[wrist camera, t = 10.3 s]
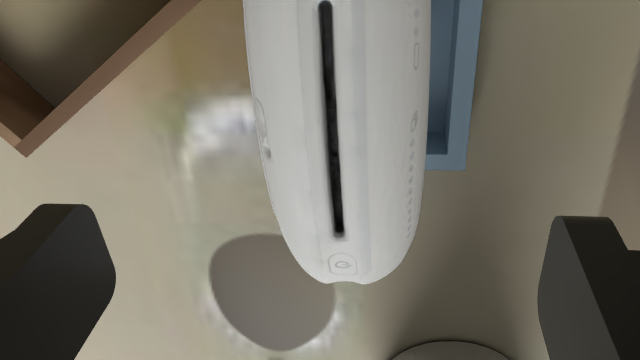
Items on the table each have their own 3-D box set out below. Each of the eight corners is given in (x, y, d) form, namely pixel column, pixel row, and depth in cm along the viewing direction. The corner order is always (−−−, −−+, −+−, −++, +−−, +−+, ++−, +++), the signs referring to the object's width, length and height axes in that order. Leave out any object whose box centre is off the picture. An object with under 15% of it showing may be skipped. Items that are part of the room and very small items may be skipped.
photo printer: (415, 110, 24) (424, 329, 14) (321, 110, 25) (264, 320, 14) (425, -161, 18) (453, -121, 8) (301, -151, 19) (183, -103, 9)
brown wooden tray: (224, -22, 22) (202, -1, 20) (59, 126, 28) (26, 157, 25) (101, -170, 20) (58, -167, 17) (-54, 26, 25) (-103, 49, 23)
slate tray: (460, 141, 25) (465, 170, 23) (281, 140, 26) (271, 167, 24) (496, -237, 17) (508, -243, 15) (238, -213, 18) (217, -215, 16)
